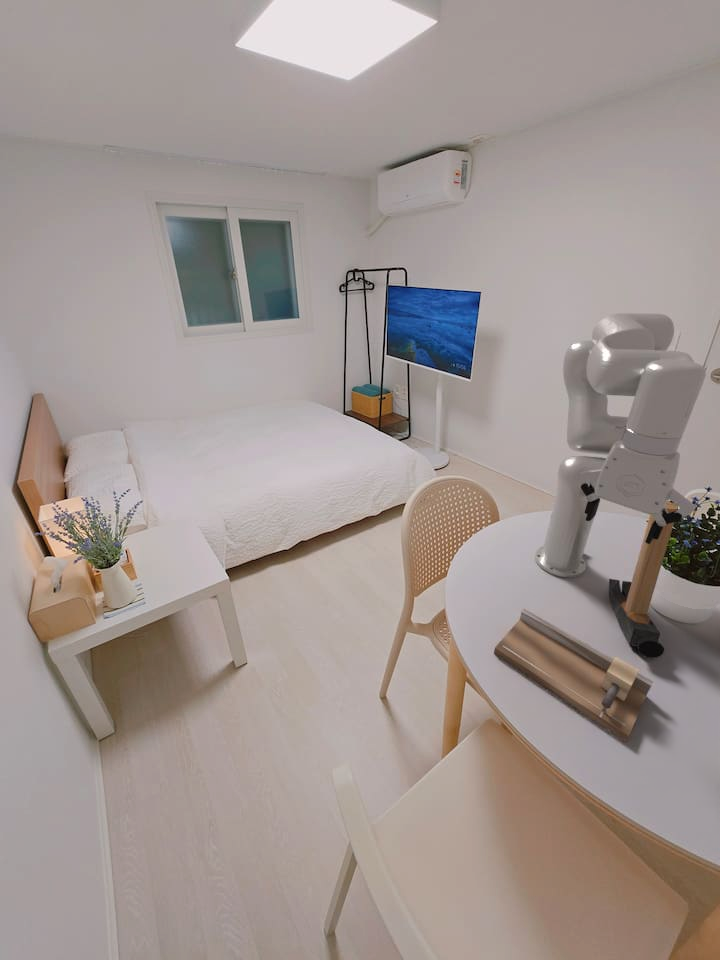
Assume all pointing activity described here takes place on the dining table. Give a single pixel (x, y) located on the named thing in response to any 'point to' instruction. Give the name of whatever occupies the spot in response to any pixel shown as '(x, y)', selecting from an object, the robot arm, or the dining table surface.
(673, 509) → the hammer
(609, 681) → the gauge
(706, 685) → the dining table surface
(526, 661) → the board
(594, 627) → the dining table surface
